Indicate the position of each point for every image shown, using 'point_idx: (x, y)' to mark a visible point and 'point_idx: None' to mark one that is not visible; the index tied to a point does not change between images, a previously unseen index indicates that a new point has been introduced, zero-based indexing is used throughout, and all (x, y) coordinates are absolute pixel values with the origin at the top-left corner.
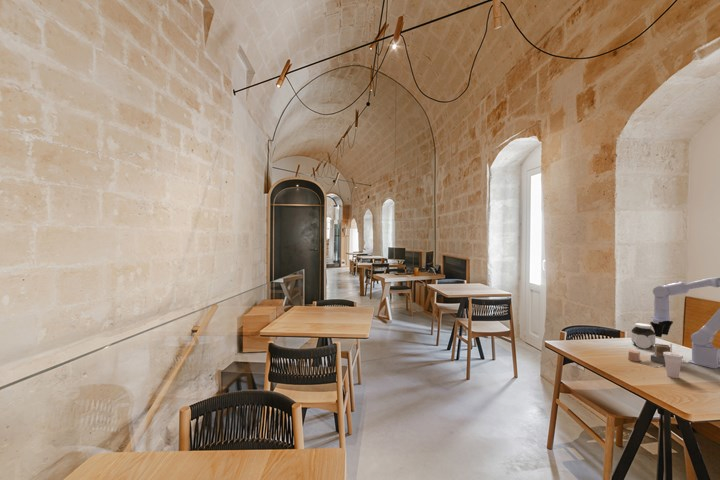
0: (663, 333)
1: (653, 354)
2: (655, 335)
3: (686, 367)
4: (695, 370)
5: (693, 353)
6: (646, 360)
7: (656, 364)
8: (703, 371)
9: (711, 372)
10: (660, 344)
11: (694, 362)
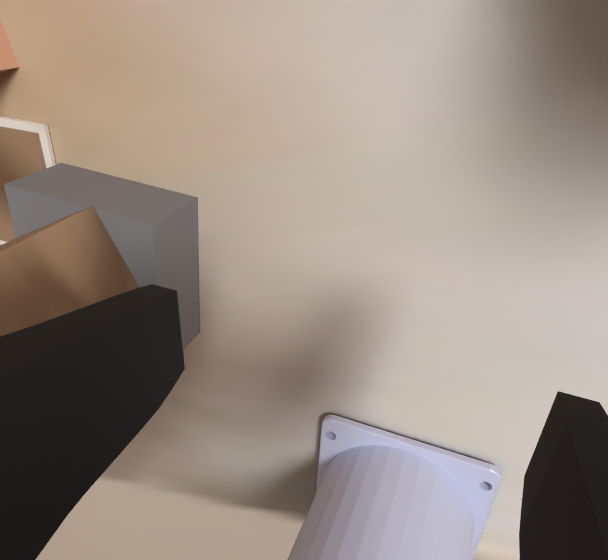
0: (552, 437)
1: (50, 200)
2: (140, 287)
3: (175, 388)
4: (161, 426)
5: (317, 523)
6: (21, 135)
7: (6, 223)
8: (187, 461)
9: (211, 493)
10: (4, 323)
11: (334, 453)
